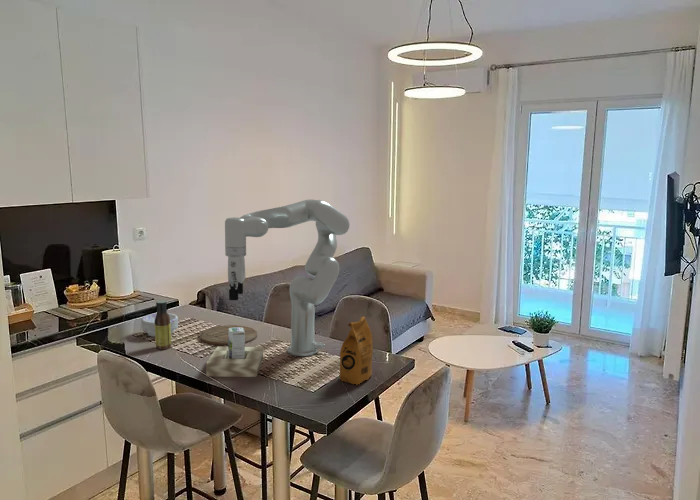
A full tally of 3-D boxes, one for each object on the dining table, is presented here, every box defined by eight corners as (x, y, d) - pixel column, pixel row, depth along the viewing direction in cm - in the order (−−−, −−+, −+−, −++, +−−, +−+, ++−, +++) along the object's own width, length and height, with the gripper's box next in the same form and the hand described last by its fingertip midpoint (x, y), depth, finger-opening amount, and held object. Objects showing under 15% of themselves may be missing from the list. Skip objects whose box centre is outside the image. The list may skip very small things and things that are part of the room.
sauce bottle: (164, 344, 221) (163, 298, 218) (174, 347, 218) (173, 300, 215) (151, 348, 215) (150, 301, 212) (162, 351, 212) (160, 303, 209)
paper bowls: (167, 340, 226) (167, 323, 224) (135, 338, 228) (135, 320, 227) (184, 330, 240) (184, 314, 239) (153, 328, 243) (153, 311, 242)
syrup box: (227, 364, 199) (227, 327, 197) (243, 362, 201) (243, 326, 199) (229, 369, 193) (229, 332, 191) (245, 368, 195) (245, 331, 193)
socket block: (263, 359, 206) (263, 347, 205) (256, 376, 188) (256, 363, 188) (217, 358, 206) (217, 346, 205) (206, 376, 188) (206, 363, 187)
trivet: (268, 334, 239) (268, 330, 238) (232, 350, 217) (231, 346, 216) (225, 326, 250) (225, 322, 250) (187, 340, 228) (187, 336, 228)
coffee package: (334, 380, 187) (336, 321, 184) (352, 370, 197) (354, 314, 194) (358, 387, 182) (360, 326, 179) (375, 376, 192) (377, 318, 189)
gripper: (241, 255, 182) (242, 302, 185) (249, 248, 199) (250, 291, 202) (220, 254, 182) (221, 302, 184) (230, 247, 199) (230, 291, 202)
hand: (236, 296), depth 193 cm, fingers open, 9 cm apart
